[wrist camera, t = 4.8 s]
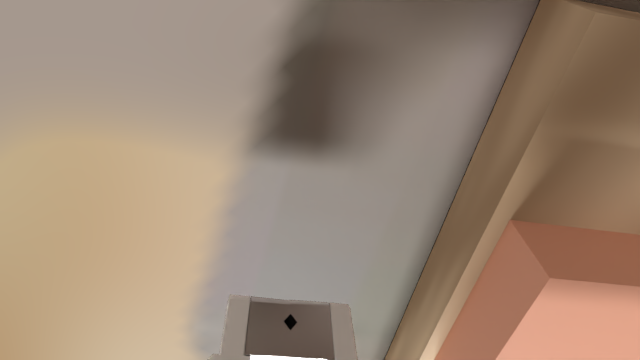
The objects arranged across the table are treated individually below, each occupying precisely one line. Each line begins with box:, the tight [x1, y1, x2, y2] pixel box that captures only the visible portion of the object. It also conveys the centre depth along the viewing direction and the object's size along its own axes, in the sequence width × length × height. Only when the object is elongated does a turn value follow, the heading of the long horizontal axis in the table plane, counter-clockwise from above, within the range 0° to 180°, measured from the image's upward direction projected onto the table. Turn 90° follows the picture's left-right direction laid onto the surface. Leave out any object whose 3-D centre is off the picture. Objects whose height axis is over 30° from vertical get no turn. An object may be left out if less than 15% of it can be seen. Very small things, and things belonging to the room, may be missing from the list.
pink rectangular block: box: [434, 220, 640, 360], centre depth 12 cm, size 9×6×2 cm, turn 80°
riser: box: [385, 0, 640, 360], centre depth 14 cm, size 14×16×2 cm
